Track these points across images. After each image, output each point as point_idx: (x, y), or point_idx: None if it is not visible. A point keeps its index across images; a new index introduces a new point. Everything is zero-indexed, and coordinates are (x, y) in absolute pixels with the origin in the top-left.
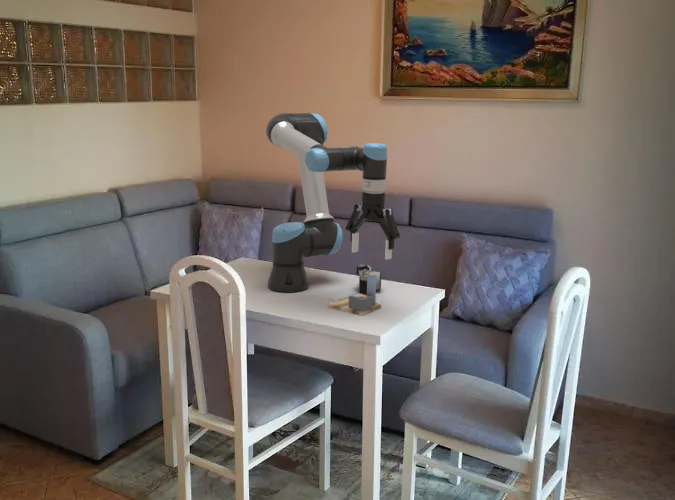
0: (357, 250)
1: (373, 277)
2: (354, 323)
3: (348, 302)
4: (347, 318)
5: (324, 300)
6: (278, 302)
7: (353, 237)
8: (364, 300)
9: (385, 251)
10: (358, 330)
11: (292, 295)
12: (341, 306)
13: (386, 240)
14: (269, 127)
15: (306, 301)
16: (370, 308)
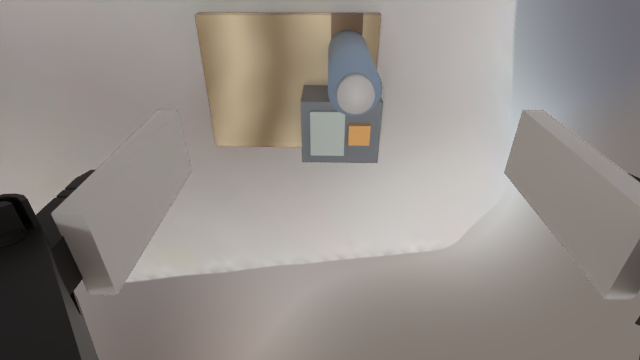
0: (177, 124)
1: (376, 104)
2: (393, 210)
3: (259, 87)
4: (349, 189)
5: (145, 87)
6: None
7: (133, 261)
8: (377, 153)
9: (536, 210)
10: (434, 243)
11: (19, 116)
12: (275, 142)
13: (610, 293)
14: None
15: (117, 139)
16: None
